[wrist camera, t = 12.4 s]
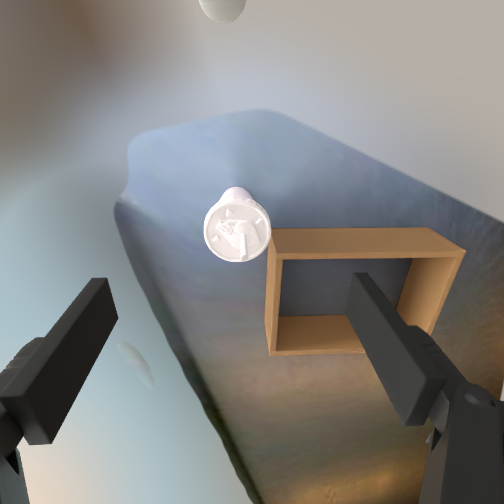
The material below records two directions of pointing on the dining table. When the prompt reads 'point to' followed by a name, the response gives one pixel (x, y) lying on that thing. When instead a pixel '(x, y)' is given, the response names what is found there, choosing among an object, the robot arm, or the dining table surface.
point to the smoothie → (237, 227)
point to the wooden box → (346, 247)
